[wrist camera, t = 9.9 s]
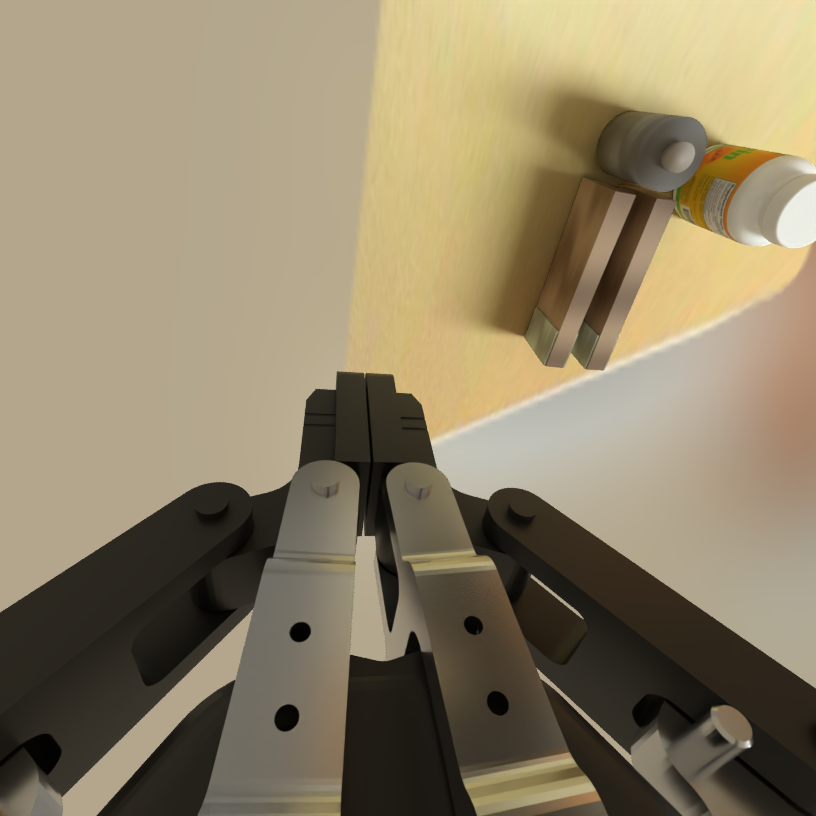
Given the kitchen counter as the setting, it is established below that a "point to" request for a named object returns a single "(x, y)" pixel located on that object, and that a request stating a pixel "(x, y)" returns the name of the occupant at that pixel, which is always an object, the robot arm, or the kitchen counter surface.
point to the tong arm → (577, 269)
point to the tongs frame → (636, 215)
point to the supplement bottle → (752, 196)
